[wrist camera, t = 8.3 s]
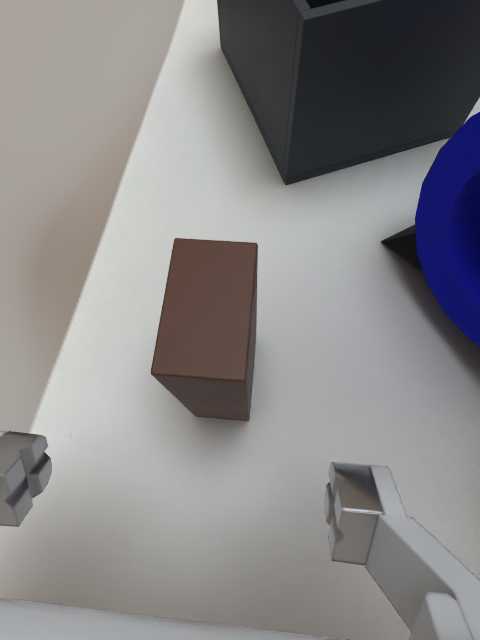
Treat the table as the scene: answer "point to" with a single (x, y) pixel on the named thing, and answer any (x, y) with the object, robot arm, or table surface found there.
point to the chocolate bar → (209, 327)
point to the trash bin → (352, 75)
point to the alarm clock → (450, 229)
